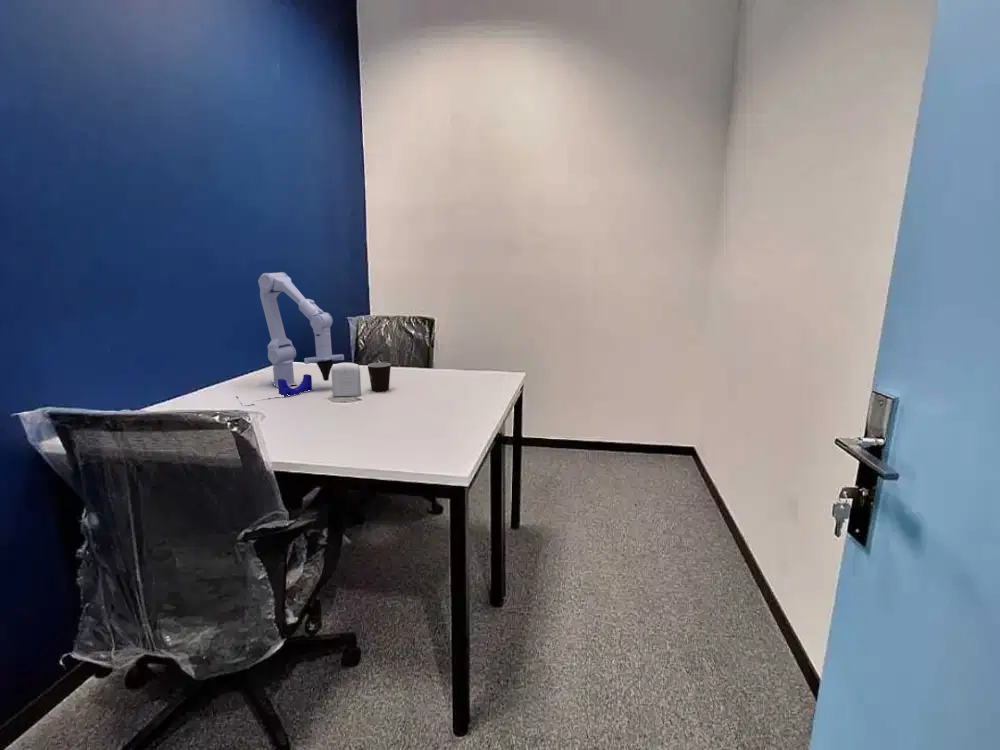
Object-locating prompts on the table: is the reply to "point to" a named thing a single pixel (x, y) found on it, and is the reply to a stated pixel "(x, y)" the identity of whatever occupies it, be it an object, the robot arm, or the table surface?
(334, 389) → the photo printer
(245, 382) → the table surface
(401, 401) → the table surface
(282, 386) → the cable clip
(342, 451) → the table surface
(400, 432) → the table surface
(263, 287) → the robot arm
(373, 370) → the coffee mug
